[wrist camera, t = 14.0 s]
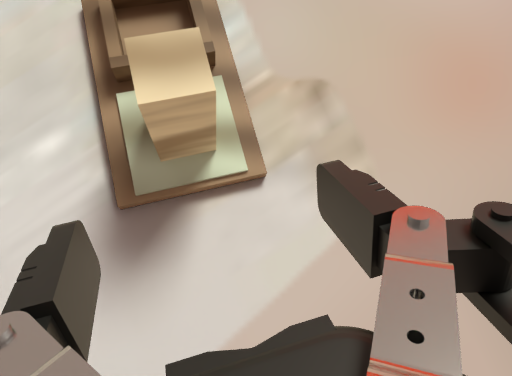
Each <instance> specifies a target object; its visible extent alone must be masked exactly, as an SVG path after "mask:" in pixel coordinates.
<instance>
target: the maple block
mask: <svg viewBox="0 0 512 376" xmlns="http://www.w3.org/2000/svg"><path fill="white" fill-rule="evenodd" d="M124 41H125V46H126V51H127V56H128V60H129V65H130V70H131V75H132V80H133V84H134V89H135V94H136V99H137V104H138V107H139V109H140V111H141V114H142V116H143V119H144V121H145V124H146V126H147V129H148V131H149V133H150V136H151V138H152V141H153V143H154V146H155V148H156V151H157V153H158V156H159V158H160V160H161V162H162V161H167V160H172V159H177V158H181V157H186V156H191V155H195V154H200V153H205V152H210V151H214V150H216V88H215V84H214V80H213V77H212V73H211V69H210V66H209V62H208V58H207V55H206V51H205V48H204V44H203V40H202V37H201V33H200V29H199V27H195V28H188V29H182V30H175V31H169V32H162V33H155V34H149V35H142V36H136V37H129V38H124Z"/></svg>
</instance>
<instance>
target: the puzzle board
mask: <svg viewBox="0 0 512 376" xmlns="http://www.w3.org/2000/svg"><path fill="white" fill-rule="evenodd" d="M81 2H82V8H83V14H84V19H85V25H86V31H87V36H88V42H89V48H90V53H91V59H92V65H93V70H94V76H95V82H96V87H97V93H98V99H99V104H100V110H101V116H102V121H103V127H104V133H105V138H106V144H107V150H108V155H109V161H110V167H111V172H112V178H113V184H114V189H115V195H116V201H117V206H118V207H119V208H120V209H125V208H130V207H134V206H138V205H143V204H147V203H152V202H156V201H160V200H165V199H169V198H173V197H178V196H182V195H187V194H191V193H195V192H200V191H204V190H208V189H213V188H217V187H221V186H226V185H230V184H235V183H239V182H243V181H248V180H252V179H256V178H261V177H265V176H266V174H267V171H266V168H265V164H264V161H263V158H262V154H261V151H260V147H259V144H258V141H257V137H256V134H255V130H254V127H253V124H252V120H251V117H250V113H249V110H248V107H247V103H246V100H245V96H244V93H243V90H242V86H241V83H240V79H239V76H238V72H237V69H236V66H235V62H234V59H233V55H232V52H231V49H230V45H229V42H228V38H227V35H226V32H225V28H224V25H223V21H222V18H221V15H220V11H219V8H218V4H217V1H216V0H81ZM195 27H199V29H200V33H201V37H202V40H203V44H204V48H205V51H206V55H207V58H208V62H209V66H210V69H211V73H212V77H213V80H214V84H215V88H216V150H214V151H210V152H205V153H200V154H195V155H191V156H186V157H181V158H177V159H172V160H167V161H162V162H161V160H160V158H159V156H158V153H157V151H156V148H155V146H154V143H153V141H152V138H151V136H150V133H149V131H148V129H147V126H146V124H145V121H144V119H143V116H142V114H141V111H140V109H139V107H138V104H137V99H136V94H135V89H134V84H133V80H132V75H131V70H130V65H129V60H128V56H127V51H126V46H125V41H124V38H129V37H136V36H142V35H149V34H155V33H162V32H169V31H175V30H182V29H188V28H195Z"/></svg>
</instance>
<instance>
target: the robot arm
mask: <svg viewBox="0 0 512 376" xmlns="http://www.w3.org/2000/svg"><path fill="white" fill-rule="evenodd" d="M317 195H318V207H319V211H320V214H321V216H322V218H323V219H324V221H325V222H326V223H327V224H328V226H329V227H330V228H331V229H332V231H333V232H334V233H335V234H336V236H337V237H338V238H339V239H340V241H341V242H342V243H343V244H344V246H345V247H346V248H347V249H348V251H349V252H350V253H351V255H352V256H353V257H354V258H355V260H356V261H357V262H358V263H359V265H360V266H361V267H362V268H363V269H364V271H365V272H366V273H367V275H368V276H369V277H370V278H374V277H377V276H380V275H382V281H381V287H380V294H379V302H378V308H377V315H376V321H375V328H374V332H372V331H369V330H365V329H361V328H356V327H349V326H348V327H347V326H334V325H333V323H332V322H331V320H330V318H329V316H328V315H324V316H321V317H318V318H315V319H312V320H308V321H305V322H302V323H299V324H295V325H292V326H289V327H288V328H286V329H284V330H283V331H281V332H279V333H278V334H276V335H274V336H273V337H271V338H269V339H268V340H266V341H264V342H262V343H261V344H259V345H257V346H255V347H253V348H249V349H238V350H225V351H212V352H206V353H202V354H199V355H196V356H193V357H190V358H186V359H183V360H180V361H177V362H174V363H170V364H167V365H165V367H166V376H466V375H464V374H462V365H461V351H460V339H459V326H458V314H457V301H456V293H463V294H464V295H465V296H466V297H467V298H468V299H469V300H470V301H471V303H473V305H474V306H475V307H476V308H477V309H478V310H479V311H480V312H481V313H482V314H483V315H484V316H485V317H486V318H487V319H488V320H489V321H490V322H491V323H492V324H493V325H494V326H495V327H496V328H497V330H498V331H499V332H500V333H501V334H502V335H503V336H504V337H505V338H506V339H507V340H508V341H509V342H510V343H511V344H512V204H509V203H505V202H494V201H492V202H484V203H481V204H478V205H477V206H476V207H475V208H474V211H473V216H472V219H454V220H453V219H452V220H445V218H444V217H443V216H442V215H441V214H440V213H439V212H437V211H435V210H433V209H431V208H428V207H423V206H407V205H406V204H405V203H403V202H402V201H401V200H400V199H399V198H397V197H396V196H395V195H394V194H392V193H391V192H390V191H389V190H387V189H385V187H384V186H382V185H381V184H380V183H378V182H377V181H376V180H375V179H374V178H372V177H371V176H370V175H369V174H366V173H363V172H361V171H358V170H351V169H350V168H348V167H347V166H346V165H345V164H344V163H343V162H341V161H340V160H336V161H331V162H327V163H323V164H319V165H318V166H317ZM100 277H101V271H100V265H99V261H98V258H97V256H96V253H95V251H94V249H93V246H92V244H91V242H90V239H89V237H88V235H87V232H86V230H85V228H84V226H83V224H82V222H81V221H79V220H77V221H73V222H69V223H64V224H60V225H56V226H53V227H52V229H51V232H50V234H49V237H48V239H47V242H46V244H43V245H39V246H38V247H37V248H36V249H35V250H34V251H33V252H32V253H31V254H30V255H29V256H28V257H27V258H26V260H25V262H24V265H23V267H22V269H21V272H20V274H19V276H18V278H17V283H15V285H14V287H13V289H12V291H11V294H10V296H9V298H8V300H7V303H6V305H5V307H4V309H3V311H2V314H1V315H0V376H101V375H100V374H99V373H98V372H97V371H95V370H94V369H93V368H92V367H91V366H90V365H89V364H88V363H87V360H88V354H89V347H90V341H91V335H92V328H93V322H94V315H95V309H96V303H97V296H98V290H99V284H100Z"/></svg>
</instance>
